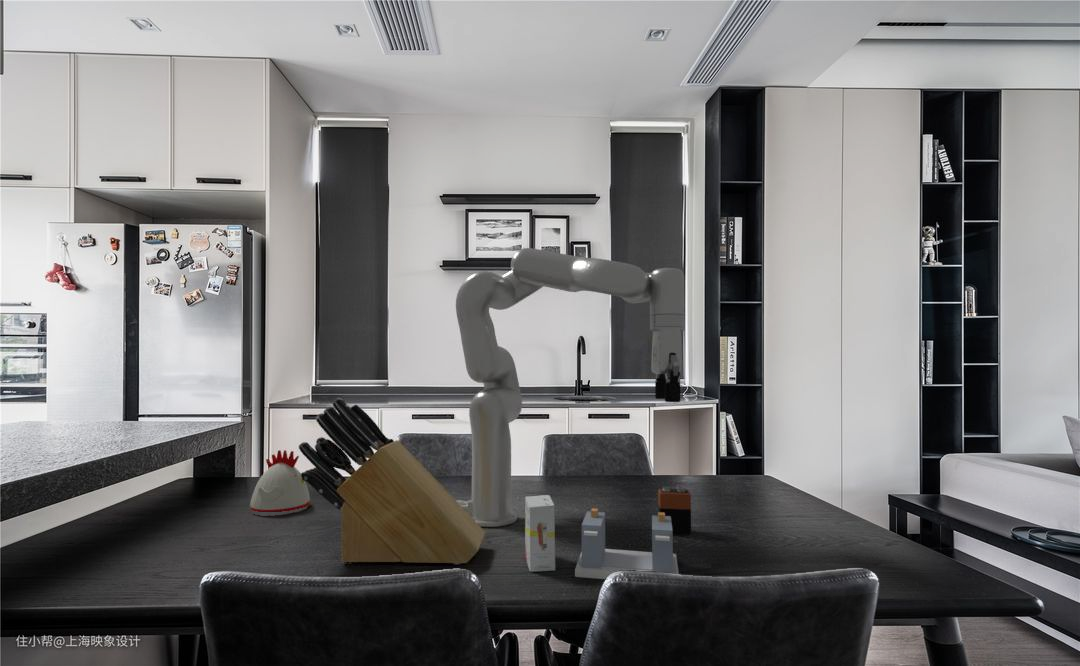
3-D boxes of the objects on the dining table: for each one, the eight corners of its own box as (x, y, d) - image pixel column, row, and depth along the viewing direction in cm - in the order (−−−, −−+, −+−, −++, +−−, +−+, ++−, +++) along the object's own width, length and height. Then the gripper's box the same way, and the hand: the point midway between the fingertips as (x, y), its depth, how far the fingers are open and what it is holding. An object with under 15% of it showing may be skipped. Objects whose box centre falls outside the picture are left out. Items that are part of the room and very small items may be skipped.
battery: (691, 535, 119) (691, 489, 119) (660, 534, 120) (659, 488, 120) (688, 529, 123) (688, 485, 124) (658, 528, 124) (657, 484, 125)
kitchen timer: (294, 516, 132) (296, 455, 133) (238, 516, 132) (240, 454, 133) (318, 502, 146) (319, 446, 147) (267, 501, 146) (269, 446, 147)
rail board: (574, 576, 96) (574, 520, 96) (583, 553, 107) (583, 502, 108) (679, 585, 92) (678, 526, 93) (676, 560, 104) (675, 508, 104)
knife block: (317, 544, 112) (321, 395, 114) (486, 546, 111) (487, 396, 113) (291, 564, 101) (295, 398, 103) (478, 567, 100) (479, 399, 101)
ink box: (524, 555, 106) (524, 494, 107) (548, 554, 107) (549, 494, 107) (528, 572, 98) (529, 506, 98) (555, 571, 98) (555, 505, 99)
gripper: (643, 326, 130) (643, 397, 129) (658, 320, 113) (658, 403, 112) (674, 326, 130) (674, 397, 129) (694, 321, 112) (695, 403, 112)
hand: (667, 400), depth 120 cm, fingers open, 9 cm apart
